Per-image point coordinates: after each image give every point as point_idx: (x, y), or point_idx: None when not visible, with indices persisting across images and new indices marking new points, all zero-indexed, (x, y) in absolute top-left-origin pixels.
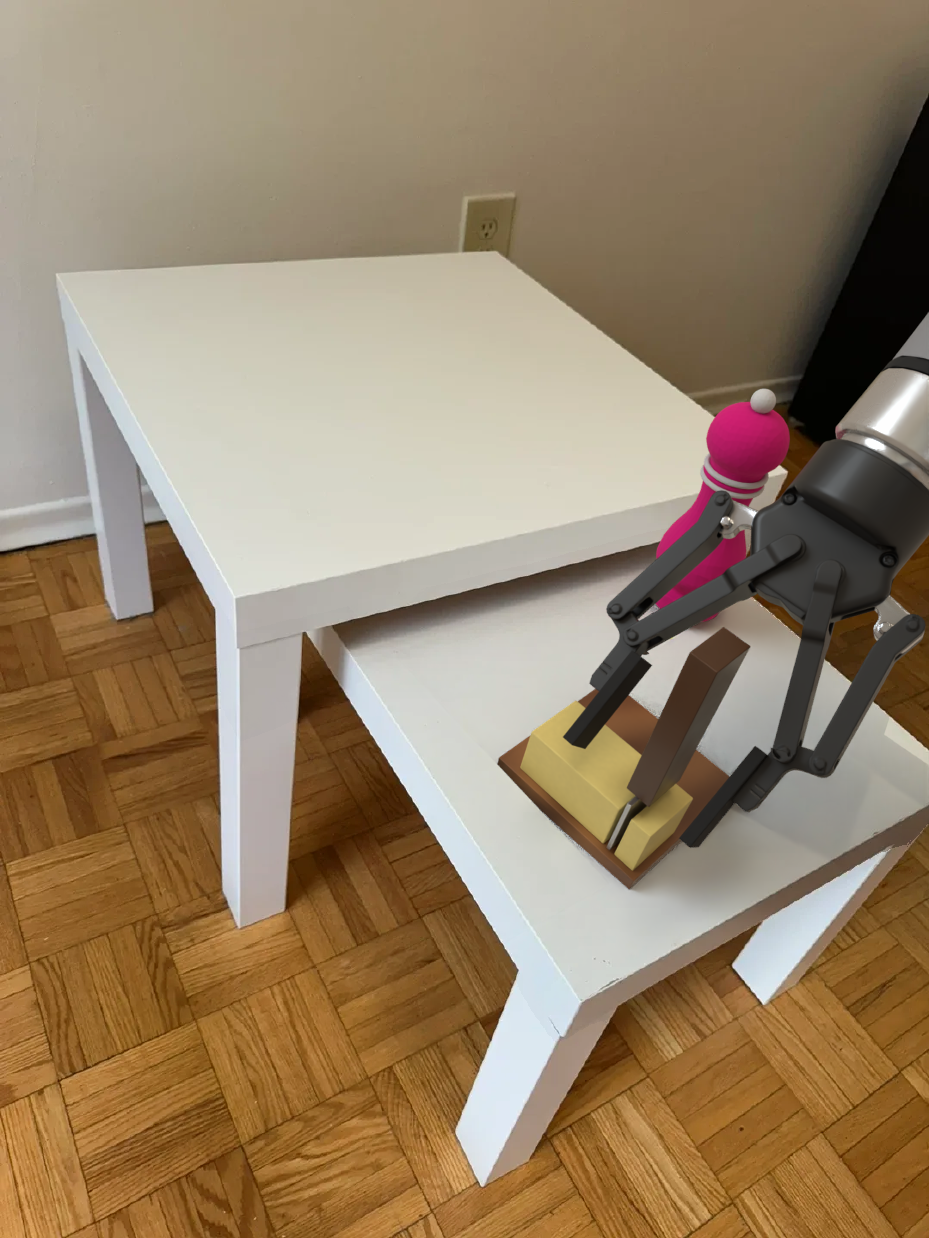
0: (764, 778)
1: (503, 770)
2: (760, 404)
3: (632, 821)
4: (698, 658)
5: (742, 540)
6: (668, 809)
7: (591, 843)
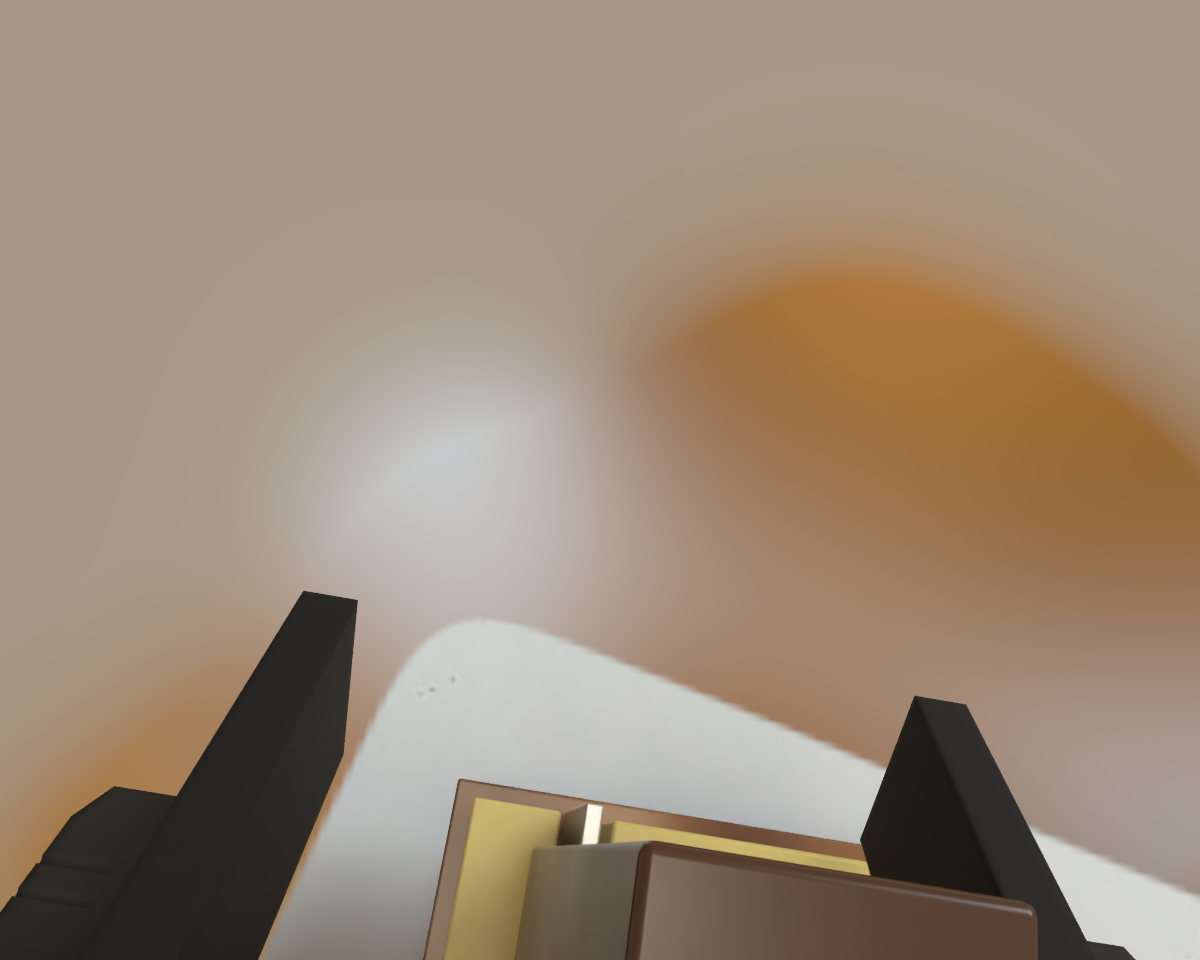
0: (41, 952)
1: None
2: None
3: (554, 811)
4: (915, 887)
5: None
6: (474, 957)
7: (619, 805)
